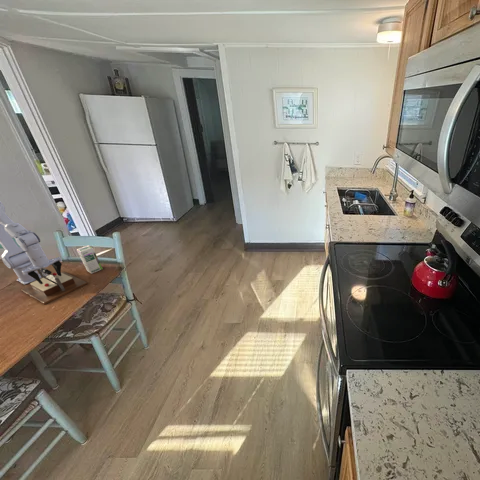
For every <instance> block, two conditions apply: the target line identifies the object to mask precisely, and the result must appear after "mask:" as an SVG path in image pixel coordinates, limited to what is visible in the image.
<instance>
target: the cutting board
mask: <svg viewBox="0 0 480 480" xmlns="http://www.w3.org/2000/svg"><path fill="white" fill-rule="evenodd" d="M37 272H38V273H39V274H40V276H41V277H42V278H45V279H47V278H46V277H44V276H43V275H42V273H41V271H40V270H37ZM61 273H63V274H66V275H68V276H70V277H72V278H73V280H74V282H75V283H74V284H72V285H70V286H68V287H65V288H64V287H63V285H62V283H61V281H60V280H59V278H55V280H56V282H57V284H58V285H59V289H60V290H59V291H57V292H55V293H52V294H50V295H48V296H45V295H44V294H42V293H40V292H38V291H36V290H35V289H33V288H32V286H31V285H28V286H26V287H23V288H21V289H20V291H21V292H22V293H24V294H26V295H28V296H29V297H31V298H33V299H35V301H36V300H37V301H38V302H40V303H41V304H43V305H47V304H48V303H51V302H53V301H55V300H57V299H59V298H62V297H63V296H65V295H68V294H70V293H71V292H74V291H76V290H79V289H80V288H82V287H84V286H86V285H88V284H89V283H88V282H87V281H85V280H83V279H82V278H81V279H80V278H79V277H77V276H75V275H73V274H70V273H68V272H66V271H64V270H63V271H61ZM42 278H41V279H42ZM47 280H48V279H47Z"/></svg>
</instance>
